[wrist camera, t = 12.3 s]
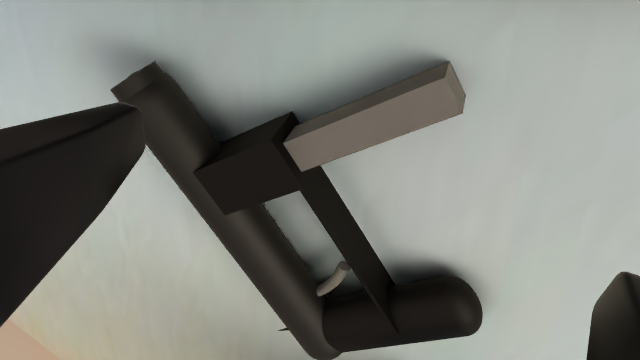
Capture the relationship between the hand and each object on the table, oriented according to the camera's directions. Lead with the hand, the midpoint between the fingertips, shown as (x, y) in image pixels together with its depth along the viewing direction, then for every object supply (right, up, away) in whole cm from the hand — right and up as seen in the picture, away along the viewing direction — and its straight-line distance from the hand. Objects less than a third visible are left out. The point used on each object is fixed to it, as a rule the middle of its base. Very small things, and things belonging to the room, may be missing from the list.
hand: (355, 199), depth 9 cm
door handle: (0, 0, +17) cm, 17 cm away
